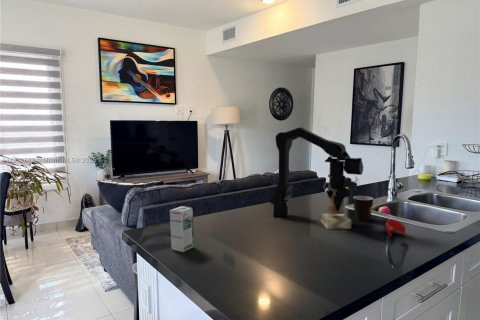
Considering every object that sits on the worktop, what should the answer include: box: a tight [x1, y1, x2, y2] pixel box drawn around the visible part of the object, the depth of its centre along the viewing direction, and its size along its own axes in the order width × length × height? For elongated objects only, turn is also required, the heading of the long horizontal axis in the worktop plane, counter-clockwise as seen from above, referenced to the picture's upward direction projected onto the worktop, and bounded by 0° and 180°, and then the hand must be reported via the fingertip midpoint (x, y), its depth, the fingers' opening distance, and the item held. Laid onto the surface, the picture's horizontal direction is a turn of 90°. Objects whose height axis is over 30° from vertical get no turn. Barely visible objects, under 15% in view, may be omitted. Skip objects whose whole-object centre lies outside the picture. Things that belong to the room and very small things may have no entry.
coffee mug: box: [352, 195, 375, 223], centre depth 148 cm, size 12×9×10 cm
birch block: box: [320, 213, 352, 230], centre depth 140 cm, size 10×10×4 cm
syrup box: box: [169, 205, 195, 253], centre depth 115 cm, size 6×6×14 cm
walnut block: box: [327, 197, 345, 214], centre depth 140 cm, size 5×5×6 cm
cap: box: [384, 219, 407, 238], centre depth 127 cm, size 8×6×6 cm
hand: (335, 209), depth 140 cm, fingers closed on walnut block, 5 cm apart
